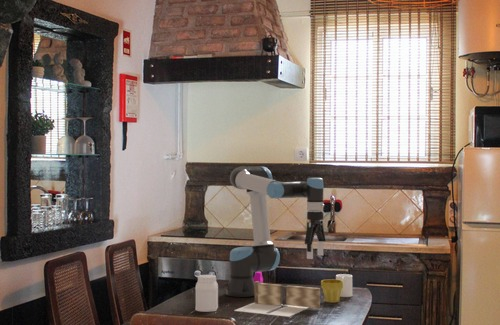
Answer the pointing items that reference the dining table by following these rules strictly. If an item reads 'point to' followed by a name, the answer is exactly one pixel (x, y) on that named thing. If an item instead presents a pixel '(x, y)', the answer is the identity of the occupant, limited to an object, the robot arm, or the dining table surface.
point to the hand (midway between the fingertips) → (315, 257)
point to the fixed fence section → (267, 293)
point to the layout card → (272, 309)
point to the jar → (206, 293)
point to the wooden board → (301, 296)
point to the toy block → (258, 277)
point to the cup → (345, 284)
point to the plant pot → (332, 289)
